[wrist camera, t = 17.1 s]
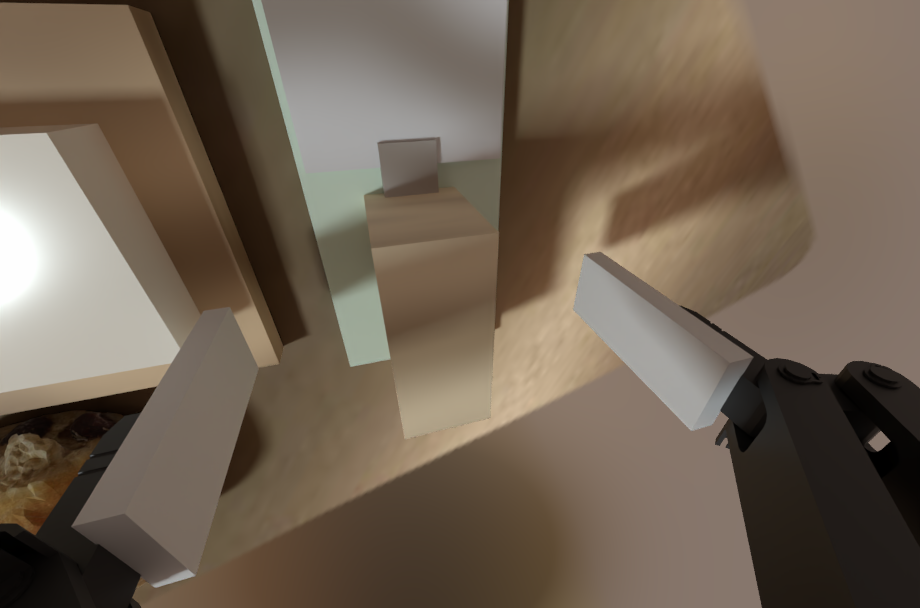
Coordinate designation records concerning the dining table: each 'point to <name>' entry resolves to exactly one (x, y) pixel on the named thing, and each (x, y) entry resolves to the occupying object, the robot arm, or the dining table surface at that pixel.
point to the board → (131, 161)
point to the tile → (80, 264)
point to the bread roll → (45, 462)
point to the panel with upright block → (410, 173)
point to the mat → (346, 228)
